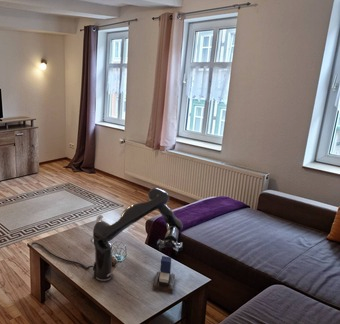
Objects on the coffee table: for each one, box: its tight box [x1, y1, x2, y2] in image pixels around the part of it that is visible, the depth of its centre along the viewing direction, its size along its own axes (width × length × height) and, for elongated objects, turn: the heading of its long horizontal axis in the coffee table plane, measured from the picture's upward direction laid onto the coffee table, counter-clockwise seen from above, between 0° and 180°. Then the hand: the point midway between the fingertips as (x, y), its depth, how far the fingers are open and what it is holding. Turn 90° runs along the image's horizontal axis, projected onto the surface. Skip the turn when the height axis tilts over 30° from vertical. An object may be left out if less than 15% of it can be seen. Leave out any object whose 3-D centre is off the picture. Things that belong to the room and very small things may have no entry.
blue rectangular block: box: [159, 255, 172, 287], centre depth 179 cm, size 11×5×11 cm, turn 161°
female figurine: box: [88, 213, 104, 244], centre depth 222 cm, size 11×16×20 cm
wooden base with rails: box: [152, 270, 176, 294], centre depth 181 cm, size 10×13×4 cm
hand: (168, 251), depth 189 cm, fingers open, 8 cm apart
